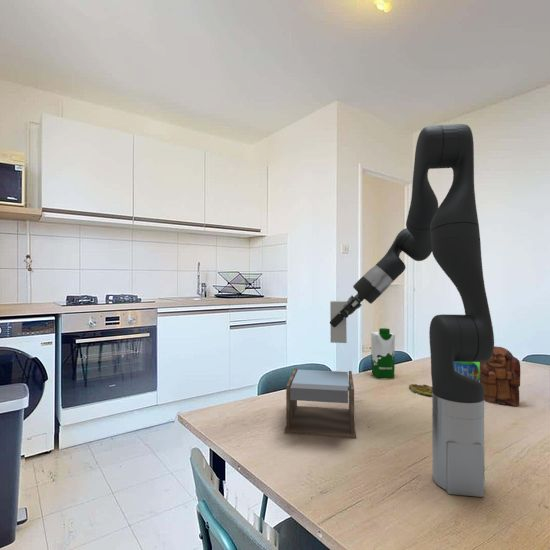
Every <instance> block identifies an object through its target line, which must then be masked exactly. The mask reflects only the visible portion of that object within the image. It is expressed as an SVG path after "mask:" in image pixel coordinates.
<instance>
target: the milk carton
mask: <svg viewBox="0 0 550 550" xmlns="http://www.w3.org/2000/svg"><path fill="white" fill-rule="evenodd" d="M390 331H391V330H390V328H387V327H386V328H385V327H384V328H379V329H378V331H371V332H370V341H371V345H370V346H371V347H370V348H371V360H370V361H371V362H370V363H371V375H372V374H373V375H374V376H375V377H374V376H373V375H372V376H373V377H374V378H376V379H378V380H381V379H380V378H394V379H395V368H396V367H395V364H396V363H395V362H396V361H395V356H396V355H395V344H396V343H395V338H396V335H395V334H394V333H392V332H390Z"/></svg>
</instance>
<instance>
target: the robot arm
mask: <svg viewBox="0 0 550 550" xmlns="http://www.w3.org/2000/svg"><path fill="white" fill-rule="evenodd" d="M474 153H475V149H474V135H473V132H472V129H471V127H470V125H468V124H464V123H452V124H438V125H436V124H435V125H434V124H433V125H428V126H425V127H423V128H422V129H421V130H420V132H419V134H418V137H417V140H416V145H415V151H414V160H413V161H414V162H413V173H412V182H411V184H412V185H411V199H410V206H409V208H408V213H407V216H406V217H407V218H406V221H405V227H406V228H404V229H402V230H400V231H399V232H398V233H397V235H396V237H395V238H394V240H393V242H392V244H391V246H390V247H389V249H388V250H387V252H386V253H385V255H384V256H383V257H382V258H381V259H380V260H379V261H377V262H376V264H375V265H374V266H372V267H371V268H370V269H369V270H367V271H366V272H365V273H364V274H363V275H362V277H360V278H359V279H358V280H357V281H356V282H355V284H353V285H352V287H353V289H354V290H355V291H356V295H351V296H350V297H349V298H348V299H347V301H346V303H345V304H344V305H343V309H342V310H341V311H339V313H338V314H337V315H336V316H335V317H334V318H333V319H332V320H331V321H329V324H330V326H331V325H332V326H333V327H336V326H337V325H338V324H339V323H340V322H341V321H342V320H343V319H346V320H347V318H348V317H349V316H350V315H353V314H354V312H355V311H356V310H358V309H360V308H361V307H362V302H363V301H364V300H365V301H366V302H367V303H369V304H373V303H374V302H375V301H376V300H377V299H378V298H379V297H380V296H381V295H382V294H383V293H384V292H385V291H387V290H388V288H390V286H391V285H392V284H393V283H394V281H395V280H396V279H397V278H398V277H399V276H400V275H402V273H404V272H405V270H406V264H405V263H404V261H403V260H402V259H401V257H400V256H401V255H400V254H401V253H404V254H406V255H407V256H408V257H410V259H412V260H414V261H416V262H422V261H425V260H426V259H428V258H430V255H431V254H432V255H433V258H434V260H435V261H436V263H437V265H439V267H440V268H441V270H442V271H443V272H444V273H445V275H446V276H447V277H448V278H449V280H450V281H451V283H453V285H454V287H455V288H456V289H457V291H458V293H459V296H460V298H461V301H462V304H463V310H464V314H443V313H442V314H436V315H434V316H433V317H432V319H431V321H430V324H429V331H428V332H429V337H428V338H429V349H430V350H429V351H430V352H429V353H430V370H431V371H430V373H431V387H432V397H431V400H432V401H431V402H432V403H431V404H432V406H431V412H432V413H431V418H432V419H431V420H432V421H431V423H432V424H431V426H432V427H431V431H432V432H431V434H432V435H431V436H432V438H431V439H432V442H431V444H432V446H431V447H432V448H431V449H432V450H431V451H432V453H431V456H432V457H431V458H432V480H433V481H434V483H435V484H436V485H438V487H440V488H441V489H444V490H445V491H446V493H447V494H449V495H456V496H466V497H467V496H470V497H479V498H483V497H484V495H485V494H484V491H485V486H486V485H485V484H486V482H485V479H486V477H485V468H486V467H485V400H484V387H483V385H482V384H481V383H480V381H477V380H475V379H472V378H470V377H467V376H464V375H461V374H459V373H458V372H456V371H455V370H454V364H453V361H458V362H485V361H488V360H489V359H490V358H491V357H492V355H493V351H494V346H495V336H494V335H495V334H494V333H495V332H494V327H493V322H492V318H491V317H492V316H491V311H490V306H489V303H488V297H487V292H486V288H485V278H484V271H483V259H482V247H481V235H480V225H479V224H480V223H479V217H478V212H477V203H476V192H475V169H474V168H475V161H474V160H475V154H474ZM433 169H434V170H435V169H438V170H439V169H451V170H452V176H453V177H452V183H451V186H450V188H449V189H448V192H447V194H446V195H445V197H444V199H443V201H442V202H441V203H440V205H439V202H438V201H439V200H438V198H437V195H436V194H435V192H434V190H433V187H432V186H431V183H430V181H429V178H428V177H429V176H428V175H429V170H433ZM344 310H346V312H345V311H344Z"/></svg>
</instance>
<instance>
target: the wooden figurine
mask: <svg viewBox="0 0 550 550" xmlns="http://www.w3.org/2000/svg"><path fill="white" fill-rule="evenodd" d="M480 371H481V372H480V381H479V382H480V383H481V384H482V385H483V387H484V402H487V403H491V404H497V405H503V406H512V407H518V406H519V405H520V387H521V363H520V360H519V359H518V358H517V357H515V356H514V355H513V353H512V352H511V351H510V350H508V349H507V348H505V347H502V346H497V345H494V351H493V355H492V357H491V358H490V359H489V360H488V361H485V362H480Z"/></svg>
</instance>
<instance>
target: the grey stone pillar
mask: <svg viewBox="0 0 550 550" xmlns="http://www.w3.org/2000/svg"><path fill="white" fill-rule="evenodd" d="M346 302H347V301H346V300H331V301H330V303H329V304H330V305H329V306H330V308H329V309H330V314H329V315H330V321H331V320H332V319H333V318H334V317H335V316H336V315H337V314H338V313H339V311H341V310H342V309H343V305H344V304H345V303H346ZM344 311H345V312H346V310H344ZM330 321H329V322H330ZM347 342H348V341H347V318H346V319H343V320H342V321H341V322H340V323H339V324H338V325H337V326H336V327H333V326H332V325H331V324H330V343H333V344H334V343H335V344H347Z"/></svg>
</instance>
